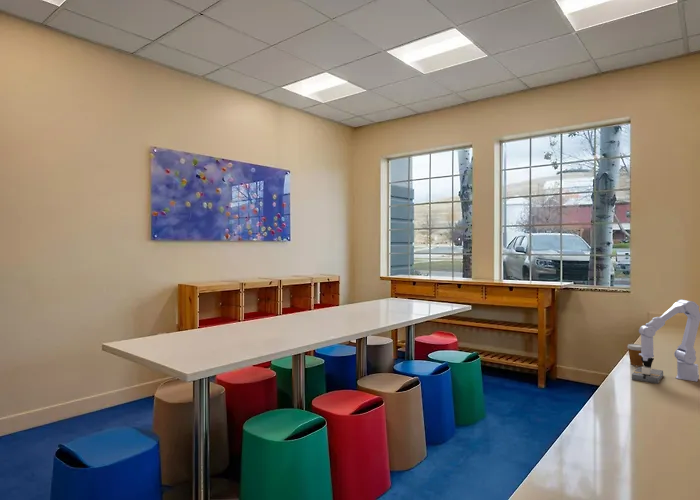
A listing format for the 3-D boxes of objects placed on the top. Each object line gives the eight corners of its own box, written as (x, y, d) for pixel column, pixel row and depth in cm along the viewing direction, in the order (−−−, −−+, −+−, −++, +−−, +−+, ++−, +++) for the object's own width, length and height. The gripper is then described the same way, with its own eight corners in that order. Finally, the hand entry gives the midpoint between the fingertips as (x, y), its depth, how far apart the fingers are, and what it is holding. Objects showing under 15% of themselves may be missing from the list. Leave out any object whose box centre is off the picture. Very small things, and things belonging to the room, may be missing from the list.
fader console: (663, 375, 247) (663, 370, 247) (657, 383, 233) (657, 378, 233) (638, 371, 255) (638, 366, 255) (631, 379, 242) (631, 374, 242)
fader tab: (650, 376, 241) (650, 367, 241) (649, 377, 239) (649, 368, 239) (642, 375, 243) (642, 365, 243) (641, 376, 241) (641, 367, 241)
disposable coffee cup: (645, 367, 264) (644, 347, 264) (626, 365, 270) (626, 346, 270) (646, 363, 272) (645, 344, 272) (628, 361, 277) (627, 343, 277)
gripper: (641, 343, 252) (641, 366, 252) (636, 348, 242) (636, 372, 242) (655, 345, 247) (656, 368, 247) (651, 350, 237) (652, 374, 237)
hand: (647, 370), depth 244 cm, fingers closed
